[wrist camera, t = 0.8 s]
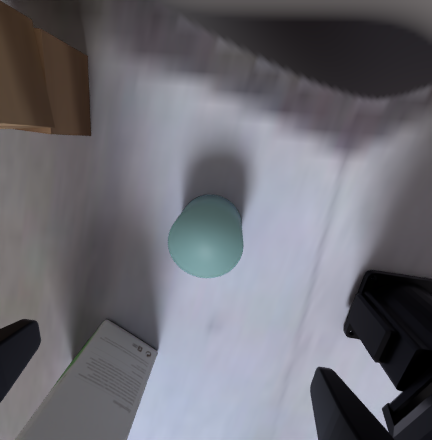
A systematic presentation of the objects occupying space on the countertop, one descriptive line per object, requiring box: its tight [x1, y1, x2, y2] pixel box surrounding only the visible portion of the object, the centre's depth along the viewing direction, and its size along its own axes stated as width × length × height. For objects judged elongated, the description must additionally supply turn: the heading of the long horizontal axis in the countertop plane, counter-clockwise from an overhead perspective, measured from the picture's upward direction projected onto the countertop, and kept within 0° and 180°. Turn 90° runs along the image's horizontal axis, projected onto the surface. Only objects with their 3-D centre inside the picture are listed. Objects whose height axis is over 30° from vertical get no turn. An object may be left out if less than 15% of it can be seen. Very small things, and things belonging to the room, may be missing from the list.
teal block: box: [168, 195, 243, 278], centre depth 17 cm, size 5×5×4 cm
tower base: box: [16, 28, 91, 136], centre depth 14 cm, size 5×5×4 cm
